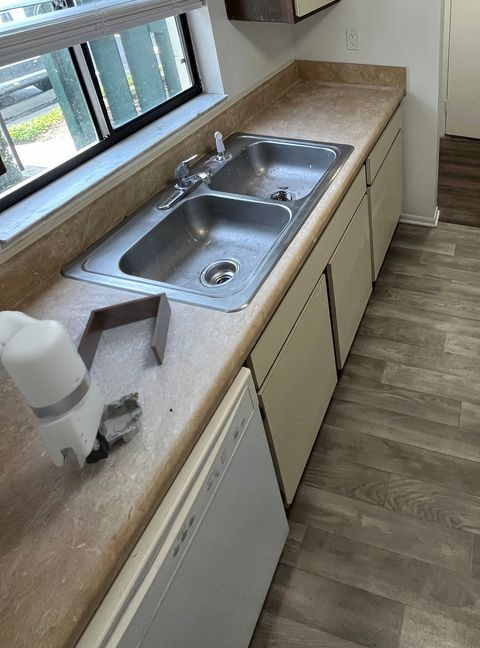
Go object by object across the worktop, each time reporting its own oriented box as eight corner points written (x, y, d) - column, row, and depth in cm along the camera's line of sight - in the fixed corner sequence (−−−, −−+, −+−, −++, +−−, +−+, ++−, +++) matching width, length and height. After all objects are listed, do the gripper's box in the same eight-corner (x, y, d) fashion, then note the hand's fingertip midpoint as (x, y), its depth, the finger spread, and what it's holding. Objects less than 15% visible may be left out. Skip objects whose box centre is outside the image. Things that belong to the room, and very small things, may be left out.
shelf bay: (80, 388, 89) (70, 369, 86) (99, 328, 102) (91, 310, 99) (162, 364, 93) (155, 345, 91) (171, 309, 106) (165, 291, 103)
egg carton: (146, 402, 86) (140, 389, 85) (138, 442, 80) (132, 428, 78) (84, 420, 83) (77, 407, 82) (70, 464, 77) (62, 450, 75)
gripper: (51, 355, 74) (88, 420, 82) (10, 450, 61) (59, 516, 69) (101, 341, 76) (133, 406, 84) (73, 430, 63) (113, 496, 71)
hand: (99, 455), depth 76 cm, fingers closed
